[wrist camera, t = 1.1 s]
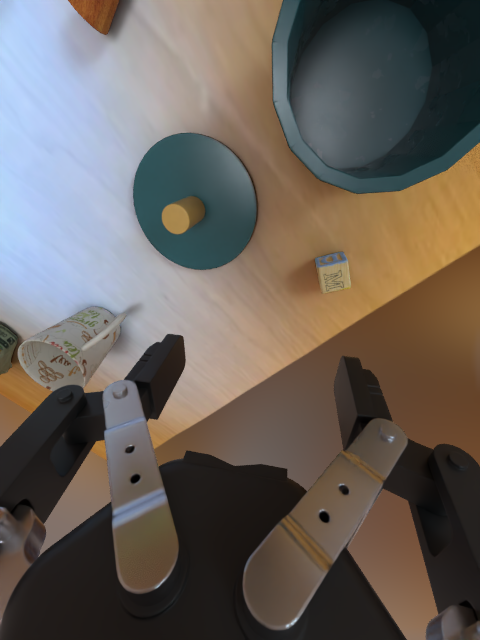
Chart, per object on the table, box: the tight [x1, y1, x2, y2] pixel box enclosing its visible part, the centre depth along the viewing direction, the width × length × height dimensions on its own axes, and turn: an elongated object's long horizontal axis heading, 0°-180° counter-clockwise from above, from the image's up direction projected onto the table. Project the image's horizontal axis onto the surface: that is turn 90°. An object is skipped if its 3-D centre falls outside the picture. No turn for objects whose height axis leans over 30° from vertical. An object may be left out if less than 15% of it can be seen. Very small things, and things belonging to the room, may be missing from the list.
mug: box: [18, 307, 126, 391], centre depth 35 cm, size 8×12×10 cm, turn 125°
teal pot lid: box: [133, 133, 257, 270], centre depth 27 cm, size 13×13×6 cm
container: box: [272, 0, 480, 194], centre depth 18 cm, size 12×12×12 cm
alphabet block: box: [315, 252, 351, 294], centre depth 29 cm, size 3×3×3 cm
